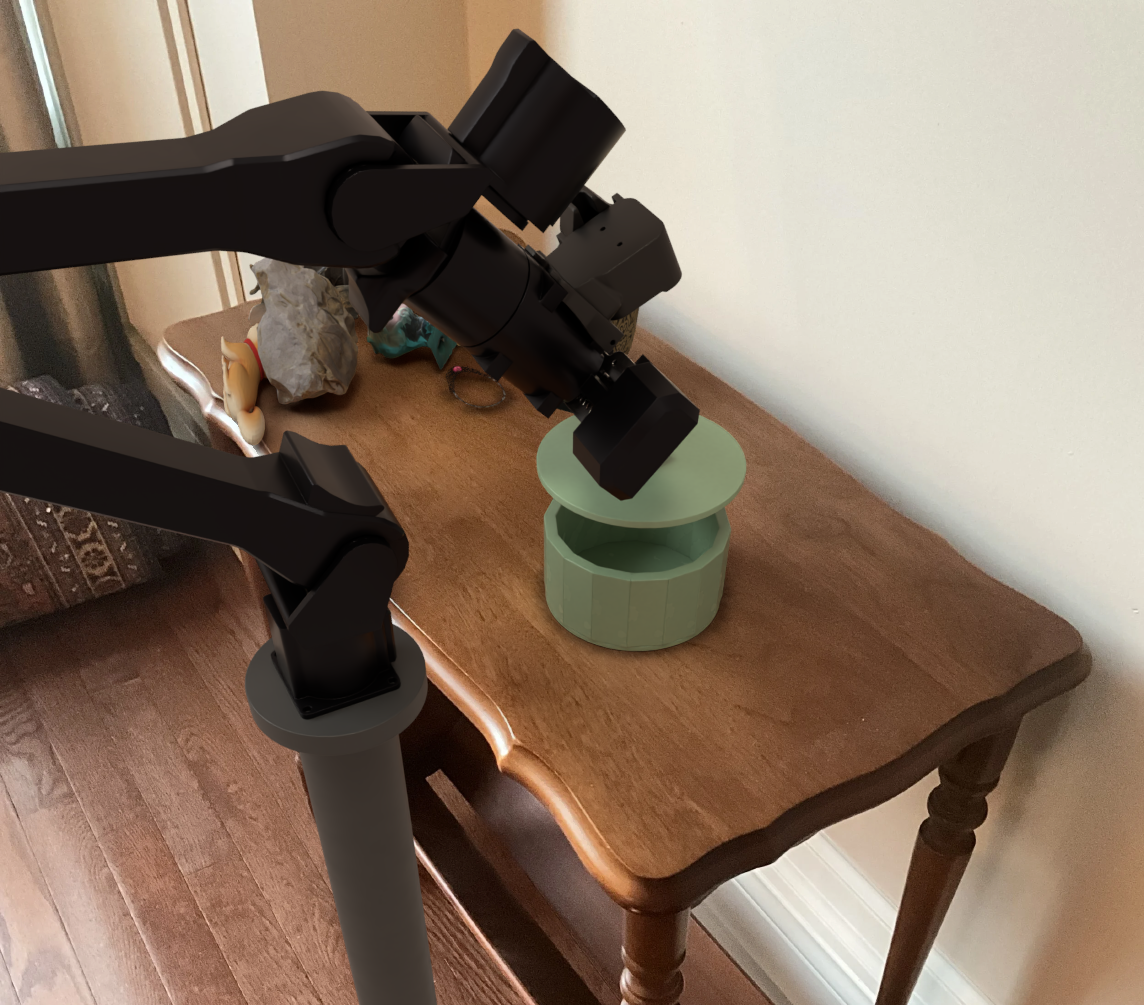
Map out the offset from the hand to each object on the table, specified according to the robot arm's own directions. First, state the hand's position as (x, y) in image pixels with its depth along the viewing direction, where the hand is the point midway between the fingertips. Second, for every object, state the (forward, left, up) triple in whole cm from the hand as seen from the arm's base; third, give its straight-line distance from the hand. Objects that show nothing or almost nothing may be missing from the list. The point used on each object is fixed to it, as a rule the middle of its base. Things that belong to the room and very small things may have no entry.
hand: (662, 436), depth 72 cm
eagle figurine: (-12, +49, -9) cm, 51 cm away
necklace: (0, +29, -12) cm, 31 cm away
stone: (-10, +38, -11) cm, 41 cm away
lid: (-1, 0, -2) cm, 2 cm away
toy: (-19, +37, -10) cm, 43 cm away
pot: (-1, 0, -12) cm, 12 cm away
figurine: (-1, +33, -6) cm, 34 cm away
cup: (+10, +26, -12) cm, 30 cm away
